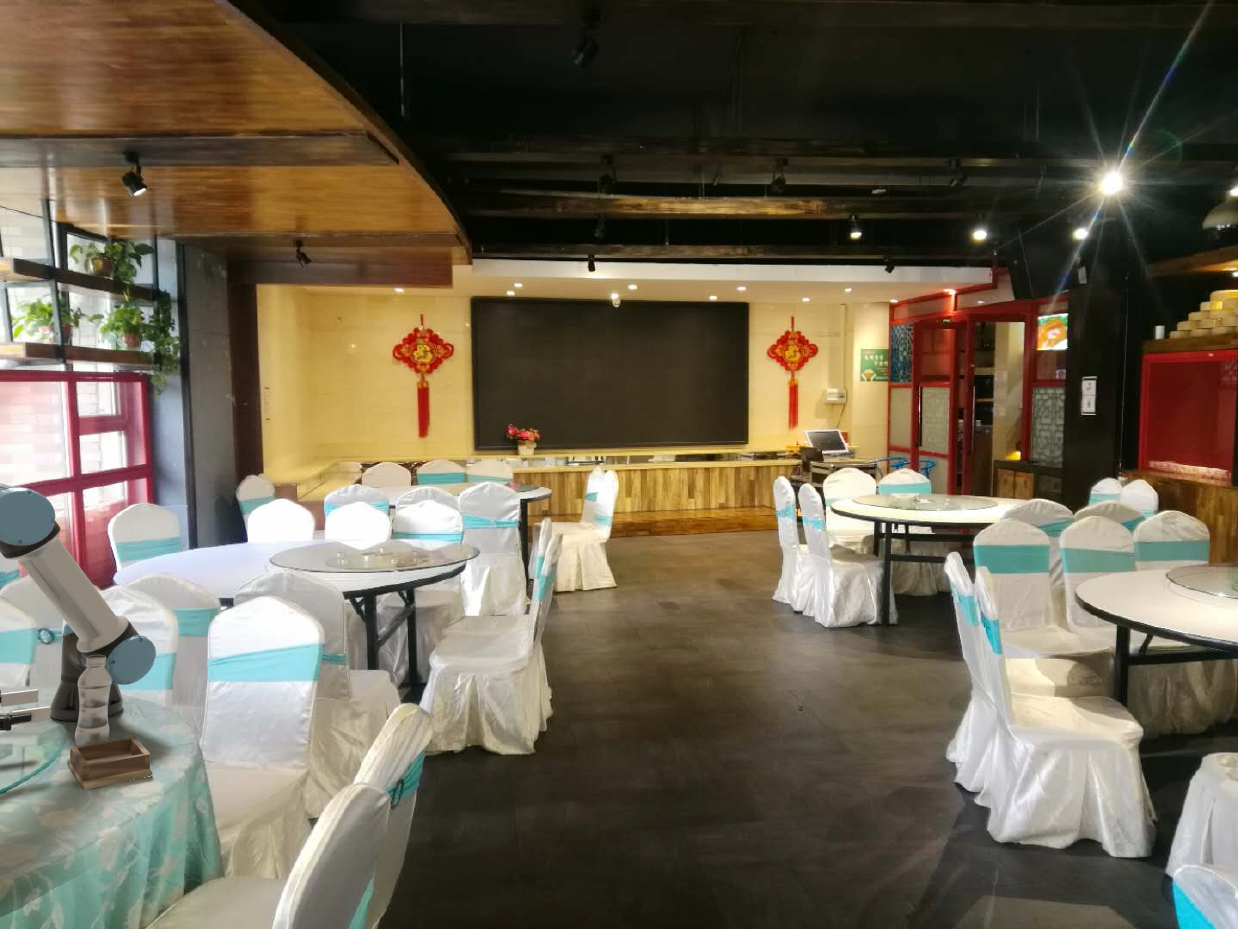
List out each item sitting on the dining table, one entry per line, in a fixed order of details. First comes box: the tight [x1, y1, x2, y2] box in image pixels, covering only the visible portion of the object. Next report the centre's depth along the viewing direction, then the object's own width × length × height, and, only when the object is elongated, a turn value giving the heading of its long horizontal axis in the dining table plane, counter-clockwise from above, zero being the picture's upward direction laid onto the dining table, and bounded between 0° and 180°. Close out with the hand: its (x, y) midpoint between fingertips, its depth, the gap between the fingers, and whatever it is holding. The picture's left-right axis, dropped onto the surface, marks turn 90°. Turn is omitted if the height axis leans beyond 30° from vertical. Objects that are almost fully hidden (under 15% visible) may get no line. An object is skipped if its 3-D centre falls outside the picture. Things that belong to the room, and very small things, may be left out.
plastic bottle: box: [74, 655, 112, 746], centre depth 185 cm, size 6×7×20 cm
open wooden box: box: [67, 736, 153, 791], centre depth 174 cm, size 16×12×4 cm
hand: (43, 704), depth 179 cm, fingers open, 13 cm apart
